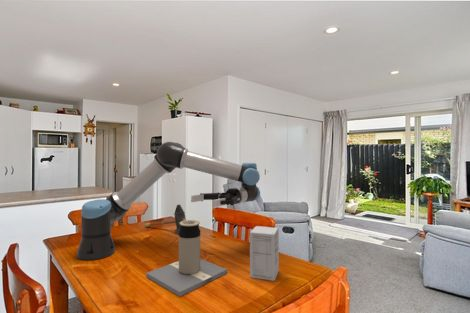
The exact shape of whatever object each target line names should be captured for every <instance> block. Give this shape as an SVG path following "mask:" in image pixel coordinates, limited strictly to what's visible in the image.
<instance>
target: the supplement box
mask: <svg viewBox="0 0 470 313" xmlns="http://www.w3.org/2000/svg"><path fill="white" fill-rule="evenodd" d="M279 230H280V229H279V227H269V226H260V225H256V226H255V227H253V229H252V230H251V231H250V233H249V278H253V279H259V280H266V281H271V282H274V281H276V278H277V276H278V274H279V272H280V260H279V258H280V256H279V254H280V252H279V249H280V248H279V246H280V245H279V244H280V243H279Z"/></svg>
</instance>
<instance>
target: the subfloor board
mask: <svg viewBox="0 0 470 313" xmlns="http://www.w3.org/2000/svg"><path fill="white" fill-rule="evenodd" d="M226 274H228V269H227V268H225V267H223V266H220V265H217V264H215V263H213V262H210V261H207V260H205V259H203V258H200V270H199V271H198V272H196V273H193V274H183V273H181V272H179V260H178V261H175V262H172V263H170V264H167V265H164V266H161V267H158V268H156V269H153V270H150V271H148V272H146V273H145V277H146V278H147V279H148V280H150V281H153V282H154V283H156V284H158V285H159V286H161V287H162V288H164V289H166V290H168V291H169V292H171V293H172V294H174V295H176V296H178V297H183V296H185V295H186V294H189V293H191V292H193V291H194V290H196V289H198V288H200V287H202V286H204V285H207V284H209V283H210V282H212V281H215V280H217V279H218V278H221V277H222V276H225V275H226Z"/></svg>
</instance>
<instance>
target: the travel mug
mask: <svg viewBox="0 0 470 313" xmlns="http://www.w3.org/2000/svg"><path fill="white" fill-rule="evenodd" d="M180 226H181V228H180V230H179V234H178V261H179V272H181V273H183V274H193V273H196V272H198V271H199V270H200V259H201V228H200V227H199V226H200V220H196V219H195V220H194V219H186V220H185V221H181V222H180Z"/></svg>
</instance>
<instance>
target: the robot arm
mask: <svg viewBox="0 0 470 313" xmlns="http://www.w3.org/2000/svg"><path fill="white" fill-rule="evenodd" d="M257 166H258V165H257V163H255V162H242V164H238V163H234V162H232V161H231V162H230V161H228V160H227V161H226V160H223V159H220V158H216V157H213V156H210V155H204V154H200V153H198V152H194V151H189V149H188V148H186V147H184V145H182V144H181V143H179V142H173V141H165V142H164V143H161V145H159V146H158V148H157V150H156V153H155V155H153V160H152V162H150V163H149V164H148V165H147V166H145V168H144V169H142V170H141V171H140V172H139V173H138V174H137V175H135V177H134V178H132V179H131V180H129V182H127V184H126V185H124V187H122V188H121V189H120V190H119V191H114V192H112V193H111V194H110V195H109V196H108V197H107V198H106V199H101V198H100V199H94V200H89V201H87V202H85V203H84V204H82V206H81V212H80V215H81V239H80V242H79V245H78V248H77V251H76V258H77V259H78V260H82V261H93V260H100V259H103V258H107V257H110V256H112V255H113V254H115V251H116V246H115V242H114V240H113V237H112V231H111V230H112V224H113V223H115V222H117V221H120V220H121V219H122V218H123V217H124V216H126V214H127V213H128V211H129V210H131V208H132V204H134V202H135V201H136V200H138V198H140V197H141V196H142V195H143V194H144V193H145V192H146V191H147V190H149V189H150V188H151V187H152V186H153V185H154V184H155V183H156V182H157V181H159V180H160V179H161V178H162V177H163V176H164V175H165V174H170V173H172V172H173V171H174V170H175V169H180V170H181V169H184V168H186V169H190V170H194V171H197V172H201V173H205V174H209V175H213V176H216V177H221V178H223V179H228V180H231V181H236V182H239V183H241V186H238V187H233V188H232V187H231V188H228V189H226V191H225V192H205V193H202V192H201V193H199V194H194V195H191V197H190V202H191V203H197V202H203V201H207V200H208V201H212V207H213V208H216V207H221V206H222V207H223V206H226V205H227V206H229V205H230V206H234V205H241V204H242V203H246V202H247V203H249V202H253V201H256V200H258V199H260V196H261V190H260V188H259V186H257V184H258V183H259V181H260V177H261V176H260V173H259V171H258V167H257Z"/></svg>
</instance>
